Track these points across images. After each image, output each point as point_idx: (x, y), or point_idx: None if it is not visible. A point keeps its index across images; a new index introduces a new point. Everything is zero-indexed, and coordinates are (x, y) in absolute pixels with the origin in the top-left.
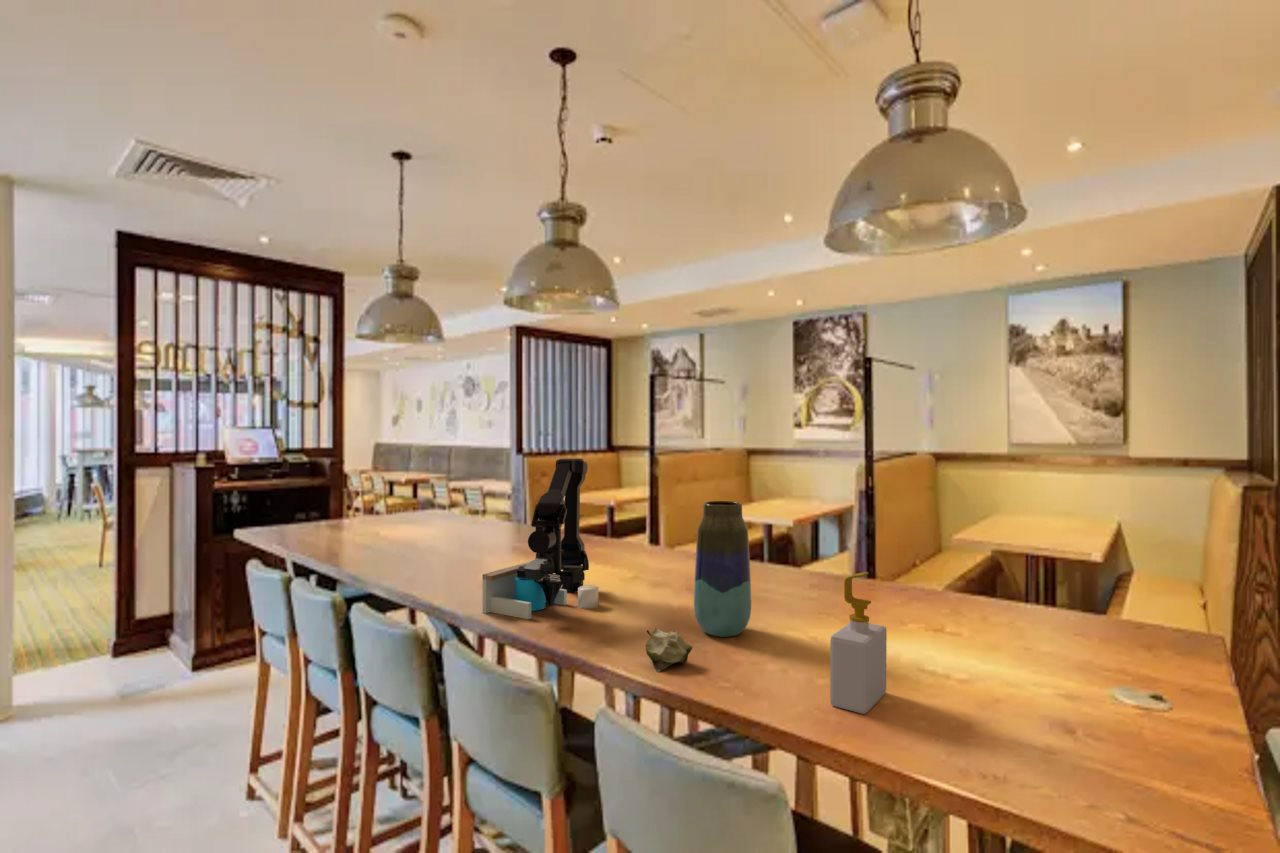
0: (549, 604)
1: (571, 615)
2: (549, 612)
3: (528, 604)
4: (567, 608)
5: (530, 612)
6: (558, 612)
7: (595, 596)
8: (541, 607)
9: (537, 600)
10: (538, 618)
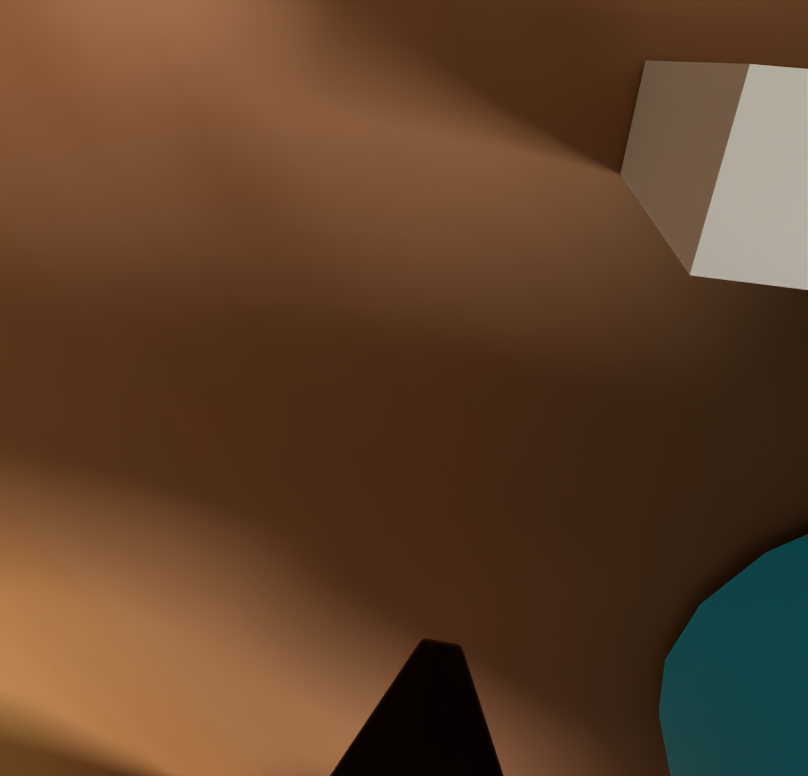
0: (426, 659)
1: (106, 546)
2: (479, 580)
3: (739, 81)
4: None
5: (648, 166)
6: (353, 611)
7: None
8: (676, 677)
9: (773, 764)
10: (466, 225)
